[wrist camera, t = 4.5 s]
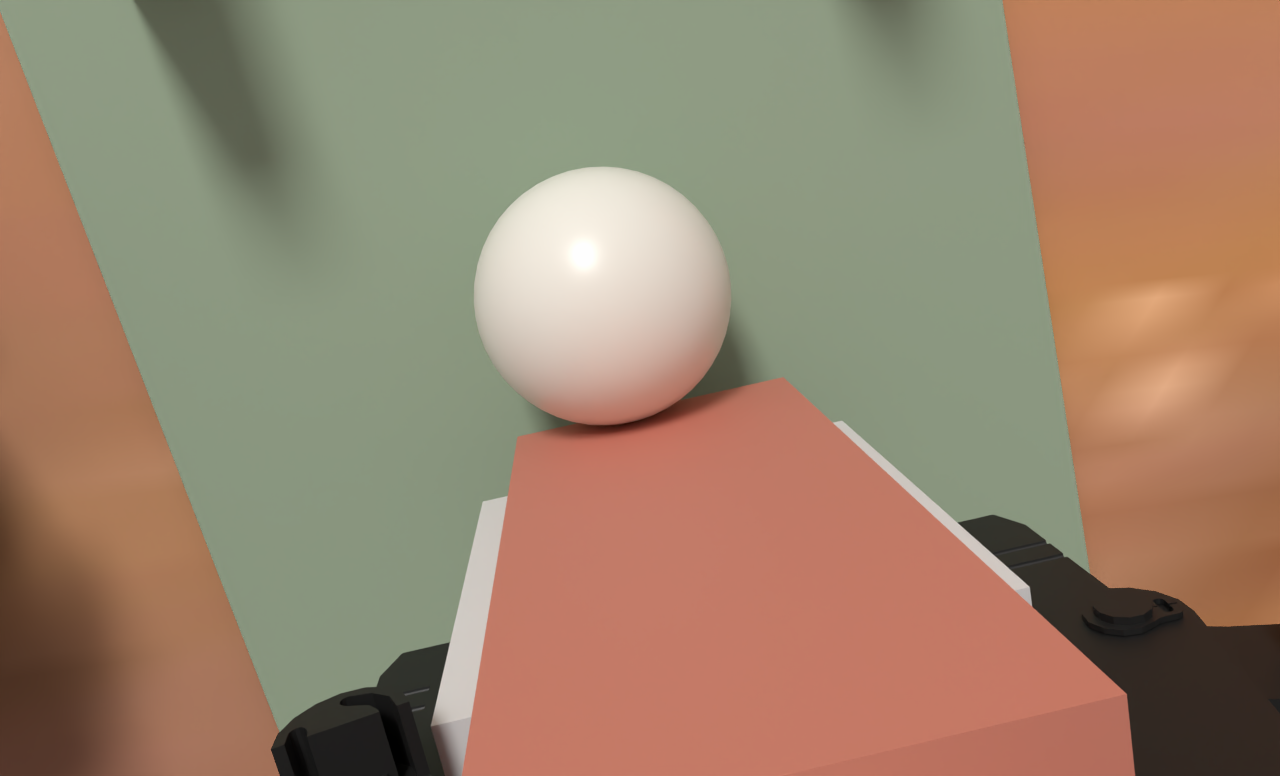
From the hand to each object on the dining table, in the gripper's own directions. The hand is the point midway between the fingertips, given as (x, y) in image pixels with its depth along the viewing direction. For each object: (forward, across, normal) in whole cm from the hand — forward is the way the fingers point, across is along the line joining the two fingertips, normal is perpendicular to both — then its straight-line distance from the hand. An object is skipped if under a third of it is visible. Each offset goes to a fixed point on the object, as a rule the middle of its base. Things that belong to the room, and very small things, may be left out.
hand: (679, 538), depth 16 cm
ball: (0, 0, +4) cm, 4 cm away
